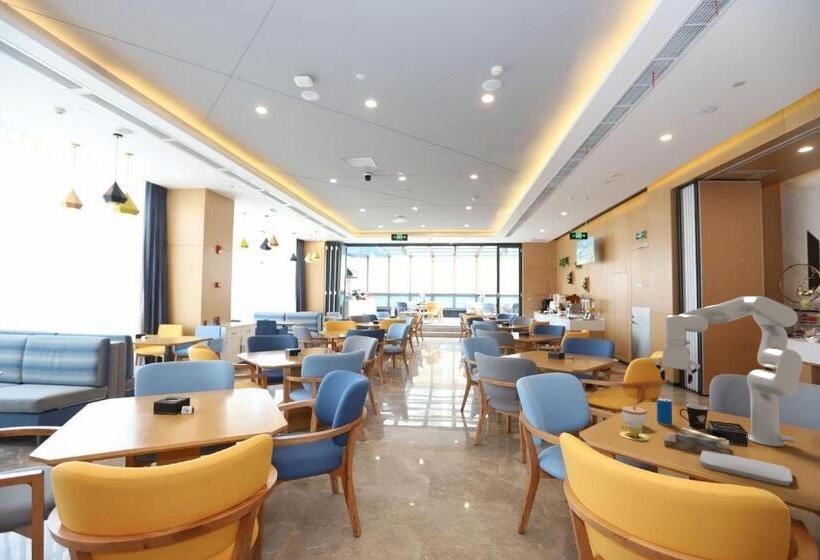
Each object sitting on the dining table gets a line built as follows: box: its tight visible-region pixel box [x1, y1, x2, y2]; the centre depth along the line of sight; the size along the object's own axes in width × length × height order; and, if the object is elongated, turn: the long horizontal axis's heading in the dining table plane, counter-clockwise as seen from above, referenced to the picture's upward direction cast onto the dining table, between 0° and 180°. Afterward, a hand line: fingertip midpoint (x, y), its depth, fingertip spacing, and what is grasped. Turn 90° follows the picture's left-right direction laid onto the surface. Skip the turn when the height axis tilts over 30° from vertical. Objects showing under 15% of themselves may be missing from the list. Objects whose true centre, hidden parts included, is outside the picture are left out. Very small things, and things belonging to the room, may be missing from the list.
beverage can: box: [656, 397, 673, 426], centre depth 203 cm, size 6×6×12 cm
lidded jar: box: [621, 405, 648, 426], centre depth 200 cm, size 11×11×9 cm
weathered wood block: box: [663, 431, 731, 455], centre depth 172 cm, size 22×13×6 cm, turn 54°
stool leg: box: [679, 427, 730, 449], centre depth 171 cm, size 18×3×4 cm, turn 24°
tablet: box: [699, 450, 794, 487], centre depth 150 cm, size 16×26×2 cm, turn 50°
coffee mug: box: [679, 403, 709, 430], centre depth 198 cm, size 12×9×10 cm
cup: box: [618, 423, 650, 442], centre depth 184 cm, size 12×12×5 cm
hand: (676, 381), depth 179 cm, fingers open, 9 cm apart
